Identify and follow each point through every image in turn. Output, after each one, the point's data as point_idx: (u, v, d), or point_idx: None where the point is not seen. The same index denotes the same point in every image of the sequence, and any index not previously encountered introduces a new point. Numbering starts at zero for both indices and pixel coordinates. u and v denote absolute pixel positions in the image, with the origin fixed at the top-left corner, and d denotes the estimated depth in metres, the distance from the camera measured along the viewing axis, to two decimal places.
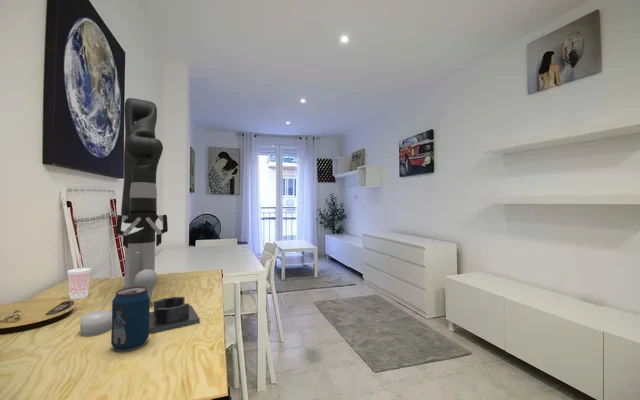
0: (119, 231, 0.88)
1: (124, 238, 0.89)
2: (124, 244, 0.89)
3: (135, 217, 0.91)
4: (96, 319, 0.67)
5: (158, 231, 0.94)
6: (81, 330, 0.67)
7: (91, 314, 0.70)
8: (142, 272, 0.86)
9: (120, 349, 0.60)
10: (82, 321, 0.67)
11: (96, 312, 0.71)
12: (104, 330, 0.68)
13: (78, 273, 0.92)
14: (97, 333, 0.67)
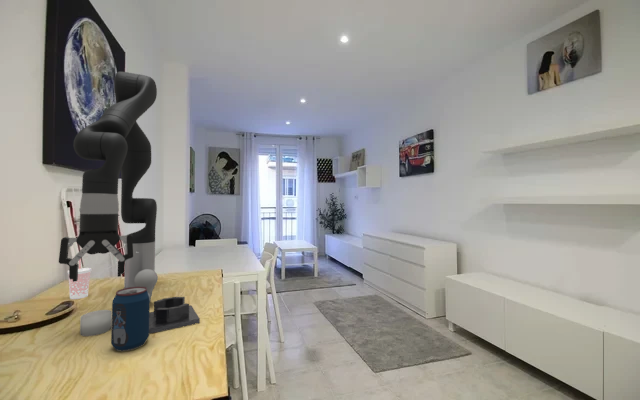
0: (63, 260, 0.65)
1: (71, 268, 0.66)
2: (71, 276, 0.66)
3: (87, 240, 0.68)
4: (96, 319, 0.67)
5: (120, 257, 0.71)
6: (81, 330, 0.67)
7: (91, 314, 0.70)
8: (142, 272, 0.86)
9: (120, 349, 0.60)
10: (82, 321, 0.67)
11: (96, 312, 0.71)
12: (104, 330, 0.68)
13: (78, 273, 0.92)
14: (97, 333, 0.67)
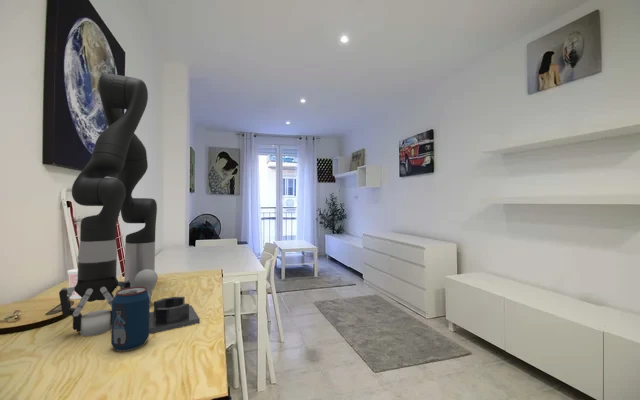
0: (67, 311, 0.66)
1: (75, 319, 0.67)
2: (75, 327, 0.67)
3: (85, 288, 0.68)
4: (95, 319, 0.67)
5: None
6: (81, 329, 0.67)
7: (91, 314, 0.70)
8: (142, 272, 0.86)
9: (120, 349, 0.60)
10: (82, 321, 0.67)
11: (97, 312, 0.71)
12: (103, 330, 0.68)
13: None
14: (96, 333, 0.67)
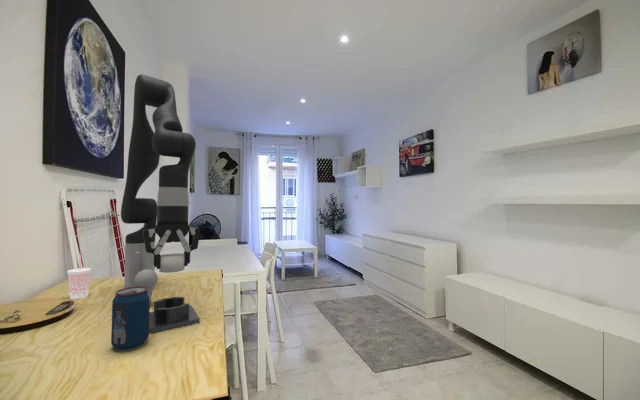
0: (150, 249, 0.72)
1: (155, 257, 0.74)
2: (155, 264, 0.74)
3: (163, 230, 0.74)
4: (174, 257, 0.74)
5: (187, 248, 0.77)
6: (161, 267, 0.74)
7: (167, 255, 0.76)
8: (142, 272, 0.86)
9: (120, 349, 0.60)
10: (162, 259, 0.74)
11: (171, 254, 0.78)
12: (180, 268, 0.75)
13: (78, 273, 0.92)
14: (174, 270, 0.74)
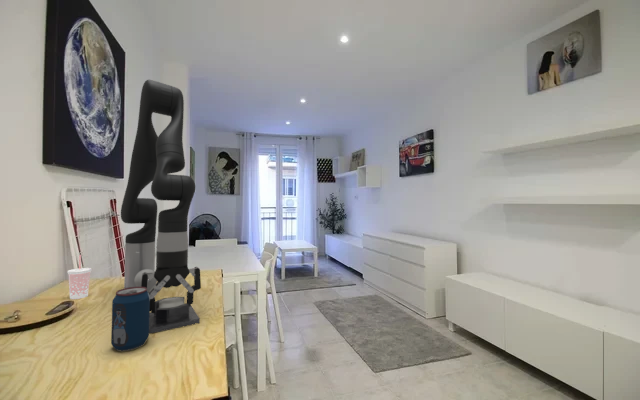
0: None
1: (150, 301, 0.73)
2: (150, 309, 0.73)
3: (163, 275, 0.74)
4: (173, 305, 0.74)
5: (190, 289, 0.78)
6: None
7: (167, 300, 0.76)
8: (142, 272, 0.86)
9: (120, 349, 0.60)
10: (161, 306, 0.73)
11: (171, 299, 0.77)
12: None
13: (78, 273, 0.92)
14: None
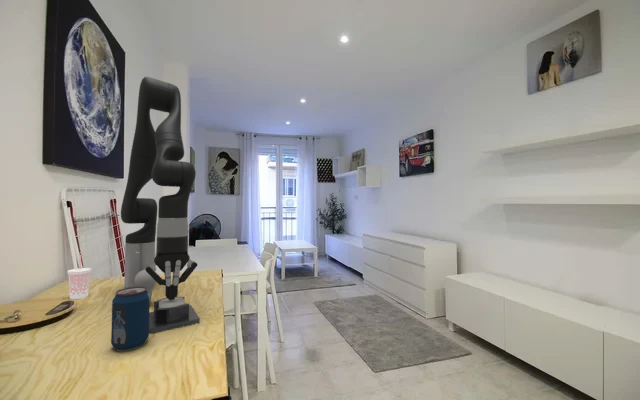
0: (162, 281, 0.74)
1: (167, 289, 0.75)
2: (167, 296, 0.75)
3: (162, 263, 0.74)
4: (173, 305, 0.74)
5: (175, 281, 0.76)
6: None
7: (167, 300, 0.76)
8: (142, 272, 0.86)
9: (120, 349, 0.60)
10: (161, 306, 0.73)
11: None
12: None
13: (78, 273, 0.92)
14: None
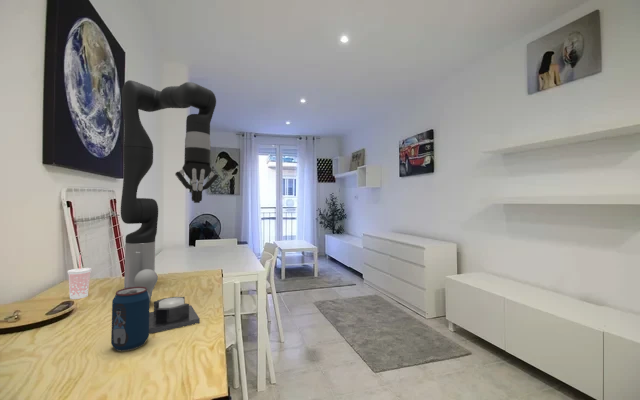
0: (189, 185, 0.88)
1: (193, 193, 0.89)
2: (193, 199, 0.89)
3: (190, 170, 0.88)
4: (173, 305, 0.74)
5: (200, 187, 0.90)
6: None
7: (167, 300, 0.76)
8: (142, 272, 0.86)
9: (120, 349, 0.60)
10: (161, 306, 0.73)
11: (171, 299, 0.77)
12: None
13: (78, 273, 0.92)
14: None
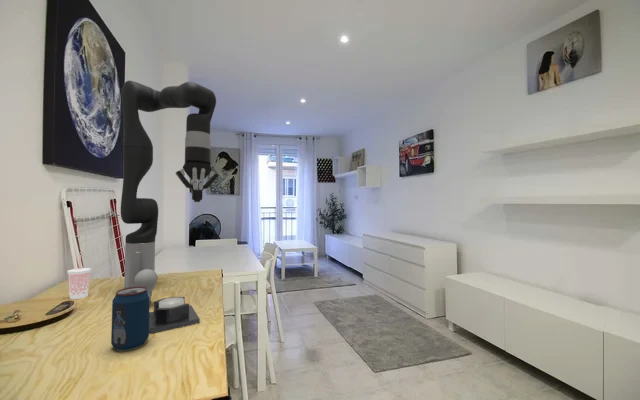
0: (190, 184, 0.88)
1: (194, 192, 0.89)
2: (194, 198, 0.89)
3: (190, 169, 0.88)
4: (173, 305, 0.74)
5: (200, 186, 0.90)
6: None
7: (167, 300, 0.76)
8: (142, 272, 0.86)
9: (120, 349, 0.60)
10: (161, 306, 0.73)
11: (171, 299, 0.77)
12: None
13: (78, 273, 0.92)
14: None
